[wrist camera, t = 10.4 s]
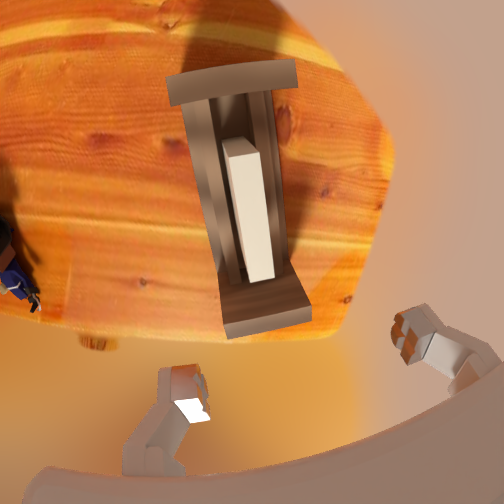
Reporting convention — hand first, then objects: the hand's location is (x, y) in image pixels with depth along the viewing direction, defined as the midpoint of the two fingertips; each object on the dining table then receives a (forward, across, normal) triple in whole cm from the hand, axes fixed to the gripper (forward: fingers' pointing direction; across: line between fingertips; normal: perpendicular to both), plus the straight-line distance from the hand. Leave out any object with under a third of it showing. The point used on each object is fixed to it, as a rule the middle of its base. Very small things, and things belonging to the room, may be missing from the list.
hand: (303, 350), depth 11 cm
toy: (+21, +30, +2) cm, 36 cm away
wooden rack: (+20, 0, 0) cm, 21 cm away
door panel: (+20, 0, 0) cm, 20 cm away
